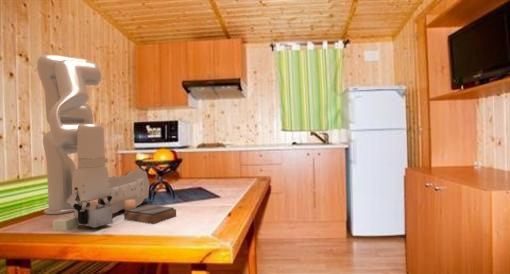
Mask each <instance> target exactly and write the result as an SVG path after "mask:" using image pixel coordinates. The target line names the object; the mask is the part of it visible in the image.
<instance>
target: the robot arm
mask: <svg viewBox="0 0 510 274" xmlns="http://www.w3.org/2000/svg"><path fill="white" fill-rule="evenodd" d="M36 69H37V74H38V77H39V80H40V82H41V84H42V87H43V89H44V96H45V97H44V102H45V103H44V104H45V117H46V118H45V119H46V121H47V123H48V125H49V130H50V131H47V132H45V134H44V135H43V136H42V145H43V150H44V153H45V154H44V155H45V159H46V160H45V161H46V162H45V163H46V174H47V175H46V178H47V198H48V199H47V201H46V204H47V205H48V207H47V208H45V209H44V210H43V214H45V215H61V214H67V213H68V214H69V213H73V212H75V209H76V211H78V221H79V223H80V224H79V225H81V224H84V225H83V226H85V224H87V212H86V211H85V208H86V205H87V202H93V201H96V200H97V201H98V199H99V201H100V203H101V204H105V205H109V202H110V201H111V199H112V197H113V196H114V194H115V193H116V192H115V191H114V190H113V189H112V188H111V187H110V180H109V177H110V175H109V170H108V167H107V166H106V163H108V161H109V160H108V159H109V158H106V157H105V156H106V154H105V151H106V150H105V149H106V148H105V128H104V126H103V125H102V124H98V123H94V116H93V115H94V114H93V111H92V108H91V106H90V105H89V104H87V103H88V101H89V99H90V98H89V96H90V95H89V92H88V90H87V86H99V84H100V83H101V80H102V72H101V70H100V67H99V66H98V64H97V63H95V62H93V61H92V60H89V59H87V58H80V57H74V56H68V55H67V56H66V55H61V54H49V53H48V54H42V55H40V56H39V57H38V59H37V61H36ZM72 154H77V166H76V164H75V163H76V162H74V160H73V159H71V157H70V156H69V155H72ZM76 167H77V168H76Z"/></svg>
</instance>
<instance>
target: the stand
mask: <svg viewBox="0 0 510 274" xmlns="http://www.w3.org/2000/svg"><path fill="white" fill-rule="evenodd" d="M123 212H124V213H123V216H124V217H123V220H125V219H127V220H126V221H132V220H133V221H132V222H138V221H139V223H144V222H145V224H150V223H151V224H152V225H154V224H157V223H161V222H164V221H165V220H166V219H167V220H169V219H172V218H174V217H177V209H176V208H174V207H171V206H165V205H164V206H163V205H155V204H154V205H153V204H145V205H144V204H143V205H139V206H136V208H133V209H129V210H126V212H125V211H123ZM163 220H164V221H163ZM160 221H161V222H160Z"/></svg>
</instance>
